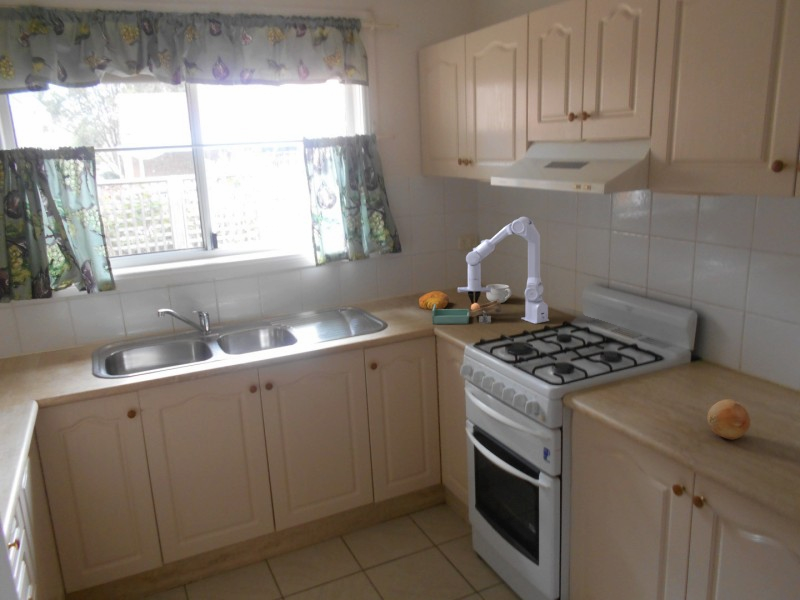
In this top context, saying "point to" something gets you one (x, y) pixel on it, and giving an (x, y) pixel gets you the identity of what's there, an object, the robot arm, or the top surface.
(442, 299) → the croissant
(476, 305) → the ball
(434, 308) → the tray
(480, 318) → the launcher stand
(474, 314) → the chute
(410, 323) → the top surface
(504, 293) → the teacup
